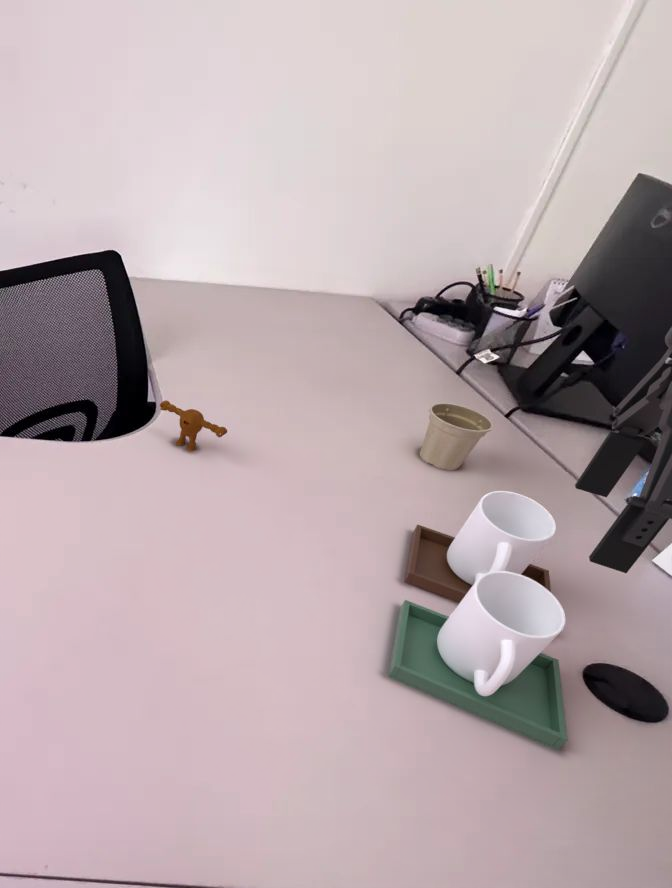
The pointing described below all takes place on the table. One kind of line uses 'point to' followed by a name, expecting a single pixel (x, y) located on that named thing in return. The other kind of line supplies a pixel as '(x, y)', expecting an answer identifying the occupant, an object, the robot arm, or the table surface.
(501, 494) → the mug
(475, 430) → the flower pot
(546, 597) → the cup
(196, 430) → the toy figurine
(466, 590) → the walnut tray
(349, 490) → the table surface
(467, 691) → the green tray
